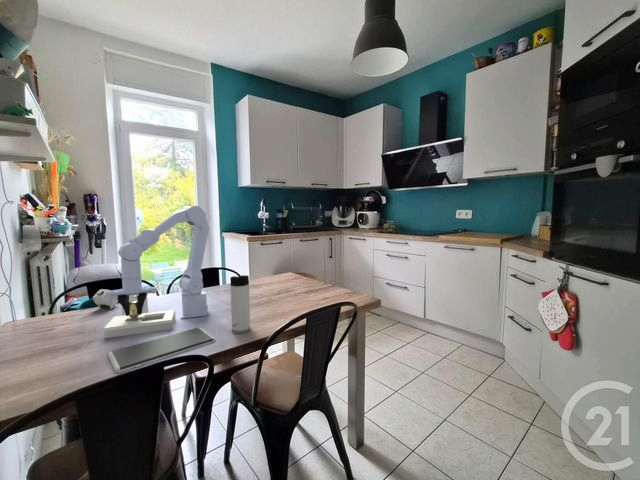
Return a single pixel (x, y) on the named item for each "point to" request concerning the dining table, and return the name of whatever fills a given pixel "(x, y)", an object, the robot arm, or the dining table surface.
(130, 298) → the light switch
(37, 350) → the dining table surface
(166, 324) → the keyhole board
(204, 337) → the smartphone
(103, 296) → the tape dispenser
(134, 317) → the peg
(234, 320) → the travel mug
